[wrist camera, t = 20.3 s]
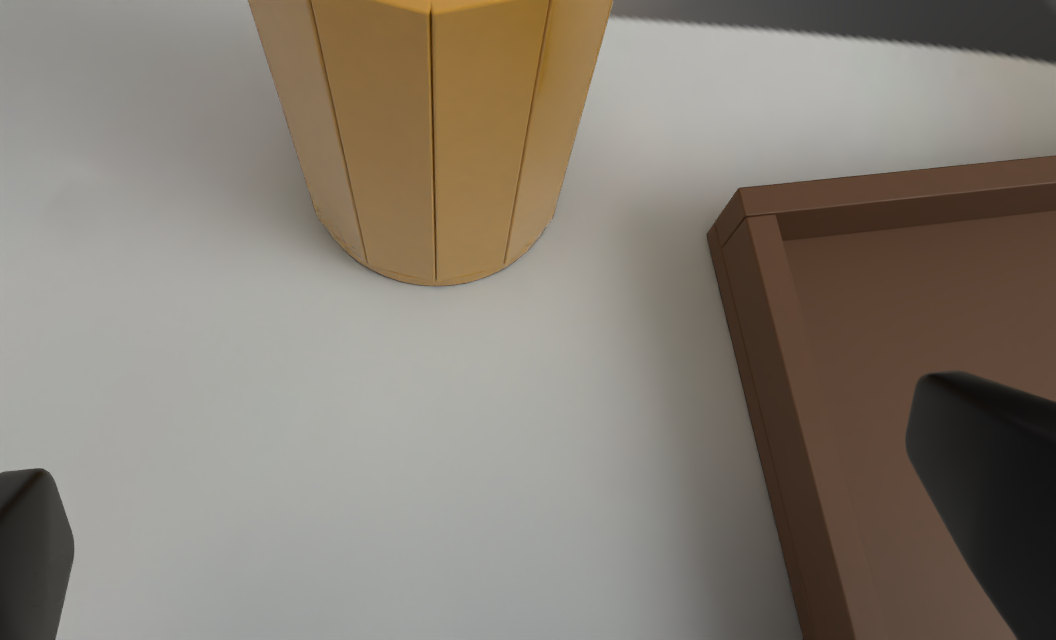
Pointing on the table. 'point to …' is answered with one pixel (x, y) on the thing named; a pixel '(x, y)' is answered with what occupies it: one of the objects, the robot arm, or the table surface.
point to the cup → (433, 122)
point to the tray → (882, 370)
